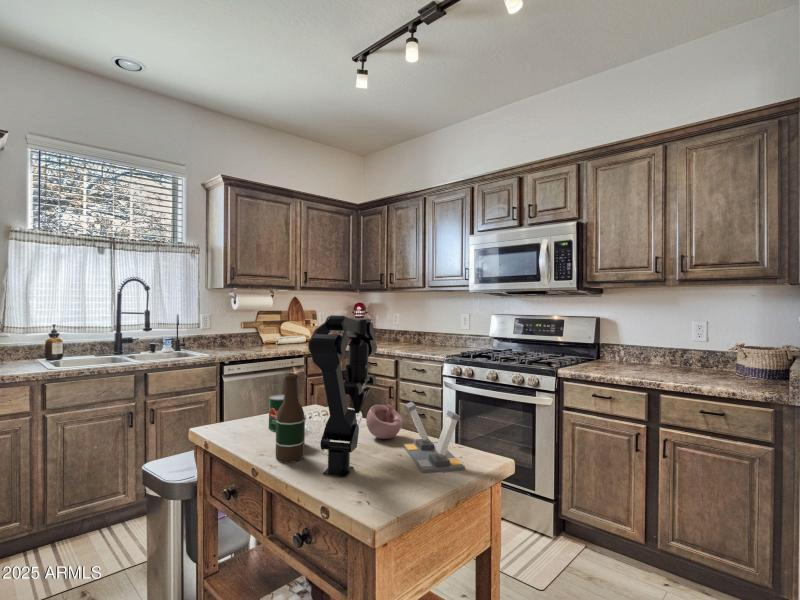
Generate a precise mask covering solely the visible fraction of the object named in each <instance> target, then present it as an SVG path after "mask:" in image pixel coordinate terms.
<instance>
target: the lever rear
mask: <svg viewBox="0 0 800 600" xmlns="http://www.w3.org/2000/svg"><path fill="white" fill-rule="evenodd" d="M405 408H406V409H407V410H408V412H409V414H410V417H411V419H412V421H413V424H414V426H415V427H416V430H417V433H418V436H419V437H420V439H423V440H424V441H425V442H426V443H428V442H429V440H430V439H429V436H428V434H427V431H426V429H425V427H424V424H423V423H422V419H421V418H420V415H419V413H418V411H417V405H416V404H415V403H414V402H413V401H410V402H408V403H405ZM428 439H429V440H428Z"/></svg>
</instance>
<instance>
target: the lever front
mask: <svg viewBox="0 0 800 600" xmlns="http://www.w3.org/2000/svg"><path fill="white" fill-rule="evenodd" d="M445 415H446V418H445V421H444V424H443V427H442V428H441V429H442V430H441V432H440V436H439V438H438V441H437V442H438V443H437V446H436V450H435V453H436V454H437V455H438V456H439V457H440V459H443V458H444V455H445V454H446V451H447V450H449V449H448V448H449V445H450V443H451V440H452V437H453V434H454V433H455V432H454V431H455V428H456V425H457V424H458V421H460V418H461V416H460V415H459V414H457V413H456V412H453V411H450V410H447V412H446V414H445Z"/></svg>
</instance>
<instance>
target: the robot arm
mask: <svg viewBox="0 0 800 600" xmlns="http://www.w3.org/2000/svg"><path fill="white" fill-rule="evenodd" d="M331 332H342V335H340V334H330V333H331ZM347 349H348V363H347V364H346V365H345V368H344V369H342V366H341V365H342V364H341V363H342V360H343V359H344V357H345V355H346V350H347ZM308 351H309V353H310V356H311V359H312V363H314V365H315V366H316V367H317V368H319V370H320V372H321V376H322V381H323V385H324V391H325V397H326V401H327V406H328V412H329V413H328V414H329V417H328V419H327V421H326V423H325V427H324V430H323V434H322V437H321V440H320V443H319V444H320V449H321V450H322V451H323V450H326V451H327V453H328V454H327V468H326V469H325V470H324V471H323V472H322V475H323V476H324V475H325V476H333V477H340V478H347V477H348V476H349V475H350V474H351V473H352V471H353V470H355V467H354V466H351V463H350V461H351V453H353V451H355V450H356V449H357V447H358V441H359V432H360V425H359V424H358V420H357V414H360V412H361V411H362V408H363V405H364V403H365V401H366V400H367V397H368V394H369V393H370V391H371V387H367V385H366V384H371V385H372V386H375V385H376V384H377V377H376V376H375V375H374V374H369V368H370V367H371V363H369V357H372V356H374V355H375V354H376V352H377V351H378V345H377V343H376V333H375V328H374V324H373V322H372V321H371V318H369V317H367V318H366V317H365V318H364V317H348V316H346V315H337V314H336V315H335V314H334V315H333V314H331V315H328V316H327V317H326V319H325V321H324V322H323V323H322V324H320V325H319V326H317V328H315V329H314V331H313V333H312V334H311V336H310V338H309V340H308ZM346 395H349V396H350V399H351V402H352V407H353V409H349V407H348V403H347V402H348V401H347V396H346Z"/></svg>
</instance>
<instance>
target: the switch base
mask: <svg viewBox="0 0 800 600" xmlns="http://www.w3.org/2000/svg"><path fill="white" fill-rule="evenodd" d="M428 440H429V442H428V443H426V442H425V441H424V440H423V439H422V438H418V439H417V438H416V439H415V442H413V443H412V442H411V443H410V442H409V443H402V448H403V449H404V451H406V453H407V454H408V455H409V457H410V458H411V459H412V461H413V462H414V463H415V465H416V466H417V467H418V469H419V470H420V472H421V473H435V472H447V471H463V469H464V470H466V467H465V465H464V464H463V463H462V462H461V461H460V460H459V459H458V458H456V456H455V455H454V454H452V453H451V452H450V450H449V449H447V451H446V454H445V455H444V458H443V459H440V457H439V456H438V455H437V454H436V453H435V450H436V446H437V443H438V441H434V442H433V441H431V440H430V439H429V438H428Z"/></svg>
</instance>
